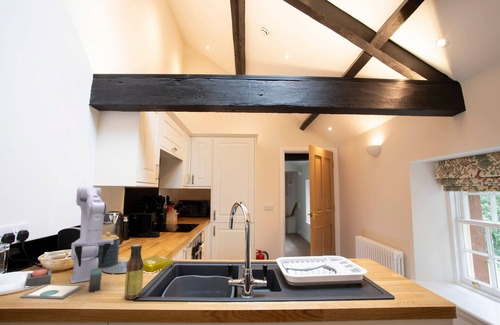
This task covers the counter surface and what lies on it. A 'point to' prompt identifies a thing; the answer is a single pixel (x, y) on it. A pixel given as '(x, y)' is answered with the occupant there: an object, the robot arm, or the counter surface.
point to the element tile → (155, 263)
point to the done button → (39, 272)
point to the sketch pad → (53, 291)
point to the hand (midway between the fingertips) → (91, 264)
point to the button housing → (38, 279)
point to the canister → (109, 251)
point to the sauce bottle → (134, 273)
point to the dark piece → (95, 280)
